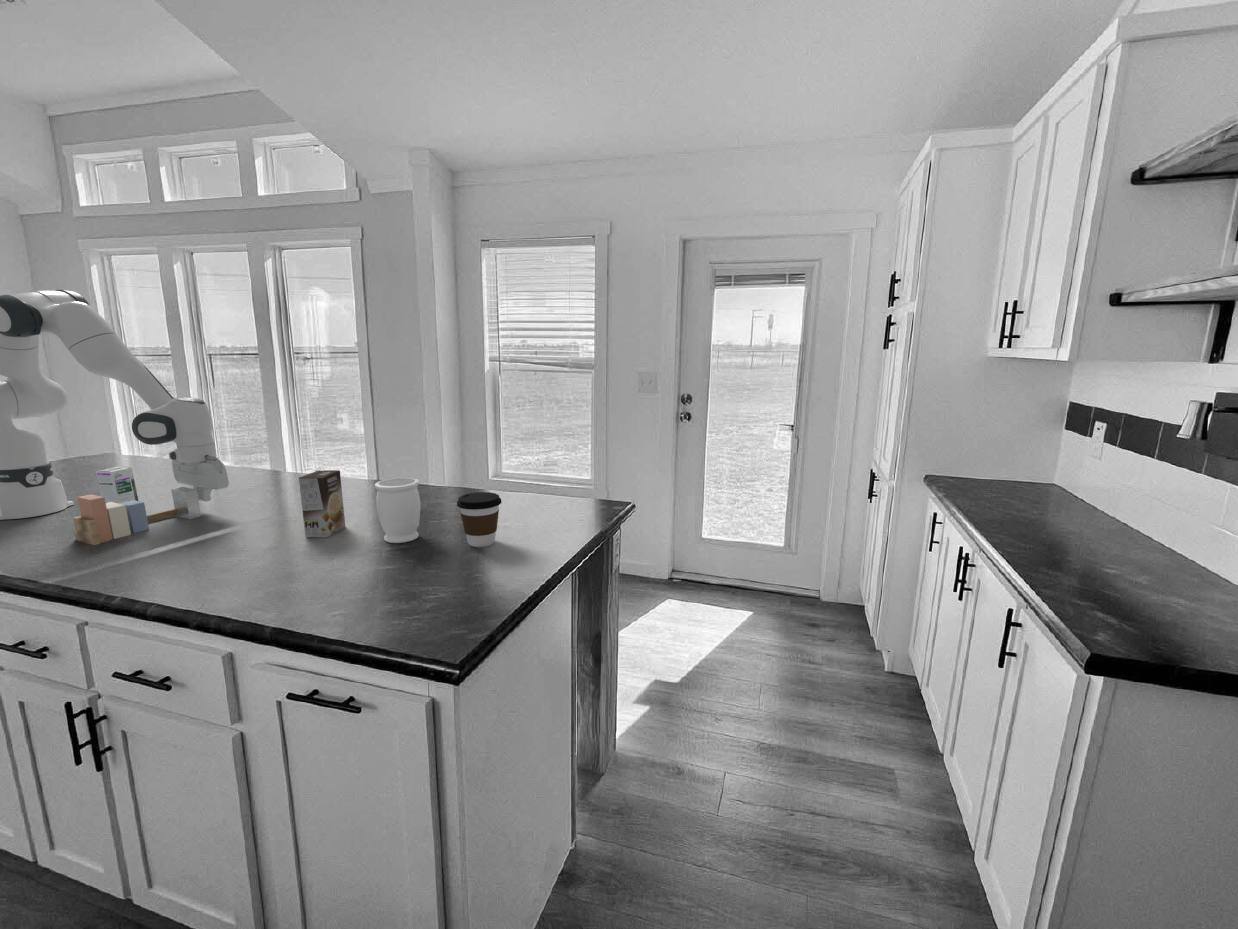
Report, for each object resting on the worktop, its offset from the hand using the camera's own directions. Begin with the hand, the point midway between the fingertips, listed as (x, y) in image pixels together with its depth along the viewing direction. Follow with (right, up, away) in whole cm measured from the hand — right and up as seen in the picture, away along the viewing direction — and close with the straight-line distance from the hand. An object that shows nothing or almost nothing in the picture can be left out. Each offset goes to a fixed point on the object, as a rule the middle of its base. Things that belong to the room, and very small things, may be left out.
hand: (204, 500), depth 167 cm
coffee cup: (+86, -10, -22) cm, 89 cm away
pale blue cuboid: (-7, -7, -15) cm, 18 cm away
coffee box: (+42, -8, -14) cm, 45 cm away
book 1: (-11, -8, -22) cm, 26 cm away
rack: (-7, -7, -13) cm, 16 cm away
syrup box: (-23, -5, 0) cm, 24 cm away
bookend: (-2, -4, -4) cm, 6 cm away
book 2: (-9, -8, -19) cm, 22 cm away
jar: (+64, -9, -18) cm, 68 cm away
